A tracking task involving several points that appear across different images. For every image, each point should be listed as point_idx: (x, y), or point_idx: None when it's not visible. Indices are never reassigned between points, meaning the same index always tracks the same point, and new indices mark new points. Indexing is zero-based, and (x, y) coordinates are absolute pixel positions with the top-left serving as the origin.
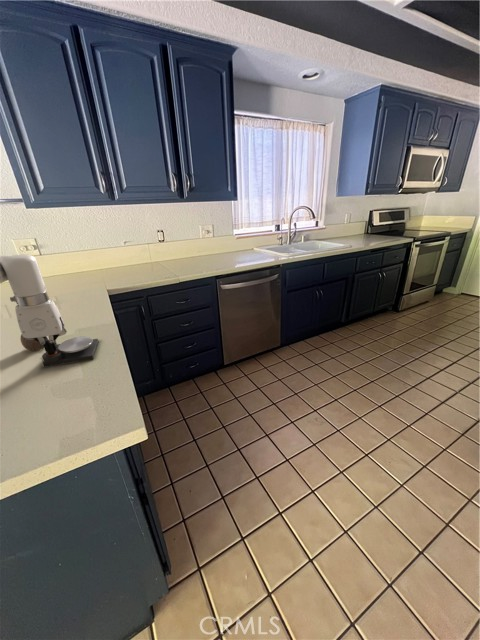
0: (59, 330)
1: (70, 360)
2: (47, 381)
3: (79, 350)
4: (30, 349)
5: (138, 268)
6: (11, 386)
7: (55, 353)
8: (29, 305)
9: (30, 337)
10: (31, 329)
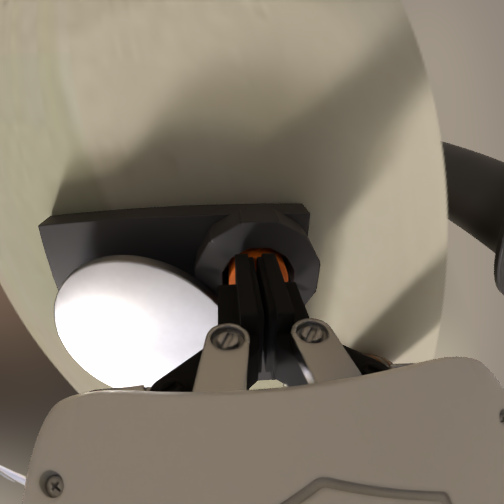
0: (46, 427)
1: (148, 213)
2: (238, 30)
3: (82, 264)
4: (376, 357)
5: None
6: (408, 70)
7: (234, 269)
8: None
9: (437, 364)
10: (452, 479)
